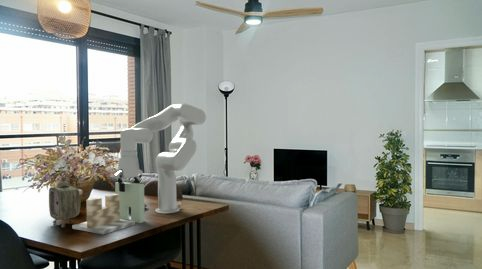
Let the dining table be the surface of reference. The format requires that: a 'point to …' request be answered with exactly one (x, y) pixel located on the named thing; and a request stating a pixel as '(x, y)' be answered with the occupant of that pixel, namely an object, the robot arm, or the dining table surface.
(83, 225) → the birch slotted base
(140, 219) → the sage slotted plate
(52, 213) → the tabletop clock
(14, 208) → the dining table surface
